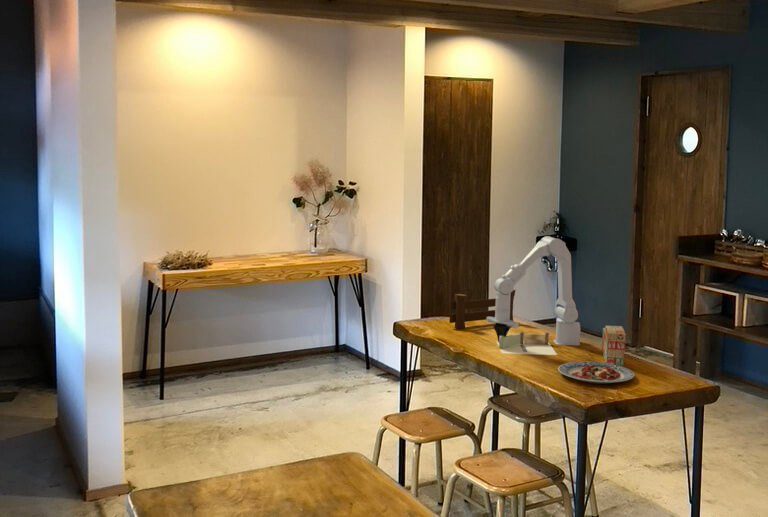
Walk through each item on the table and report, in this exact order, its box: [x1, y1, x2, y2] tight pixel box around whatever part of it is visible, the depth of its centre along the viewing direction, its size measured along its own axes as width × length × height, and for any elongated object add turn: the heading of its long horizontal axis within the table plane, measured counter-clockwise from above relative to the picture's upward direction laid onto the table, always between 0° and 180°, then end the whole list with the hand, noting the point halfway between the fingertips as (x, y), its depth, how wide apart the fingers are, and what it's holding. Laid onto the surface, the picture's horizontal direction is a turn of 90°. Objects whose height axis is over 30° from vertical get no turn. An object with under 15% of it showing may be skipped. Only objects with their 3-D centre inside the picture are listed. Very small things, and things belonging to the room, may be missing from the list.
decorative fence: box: [448, 289, 517, 331], centre depth 375 cm, size 34×6×15 cm, turn 120°
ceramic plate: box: [557, 361, 635, 384], centre depth 299 cm, size 26×26×3 cm
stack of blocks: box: [601, 325, 627, 367], centre depth 324 cm, size 21×6×12 cm, turn 171°
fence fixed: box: [518, 331, 550, 345], centre depth 342 cm, size 12×2×5 cm, turn 89°
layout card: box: [495, 340, 558, 356], centre depth 336 cm, size 21×20×1 cm
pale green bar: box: [498, 332, 521, 349], centre depth 337 cm, size 12×2×5 cm, turn 134°
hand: (501, 342), depth 340 cm, fingers closed
